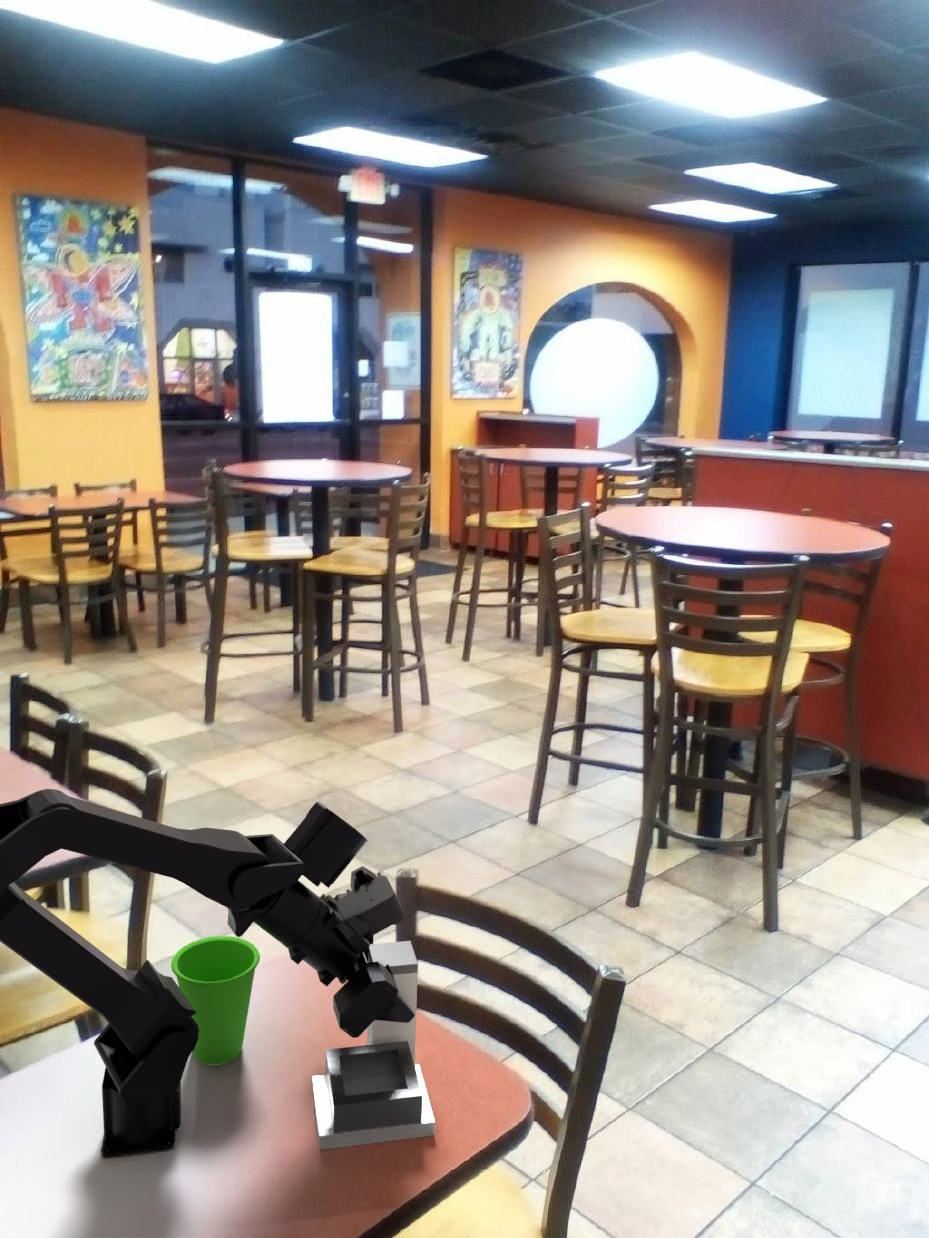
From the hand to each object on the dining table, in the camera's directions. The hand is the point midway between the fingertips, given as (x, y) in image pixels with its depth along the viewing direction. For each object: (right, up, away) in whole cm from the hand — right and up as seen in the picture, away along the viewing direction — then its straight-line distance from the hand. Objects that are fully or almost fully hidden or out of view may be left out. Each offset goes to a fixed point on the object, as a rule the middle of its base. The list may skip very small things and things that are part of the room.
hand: (404, 1001), depth 107 cm
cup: (-20, -6, +1) cm, 21 cm away
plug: (-2, -6, +1) cm, 7 cm away
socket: (-3, -8, -7) cm, 11 cm away
